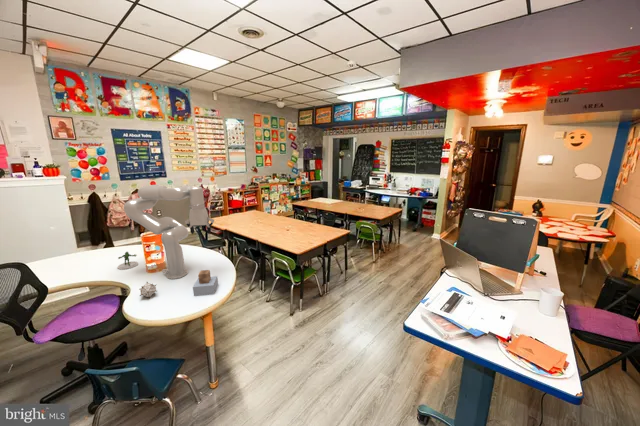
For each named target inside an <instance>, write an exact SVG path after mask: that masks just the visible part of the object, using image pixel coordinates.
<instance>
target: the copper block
mask: <svg viewBox="0 0 640 426" xmlns="http://www.w3.org/2000/svg"><path fill="white" fill-rule="evenodd" d="M197 275H198V278H199V284H205V283H209V281H210V280H211V277H212V276H211V270H210V269H205V270H203V269H201V270H200V271H199V272H198V274H197Z"/></svg>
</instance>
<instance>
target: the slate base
mask: <svg viewBox="0 0 640 426" xmlns="http://www.w3.org/2000/svg"><path fill="white" fill-rule="evenodd" d="M218 278H219V277H218V275H217V276H216V275H215V276H211V280H210V281H209V283H205V284H199V277H198V278H197V279H196V281H195V282H194V284H193V286H192V294H193V296H194V297H197V296H198V297H200V296H208V295H215V293H216V291H217V288H218V286H219V280H218Z"/></svg>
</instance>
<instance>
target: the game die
mask: <svg viewBox="0 0 640 426" xmlns="http://www.w3.org/2000/svg"><path fill="white" fill-rule="evenodd" d="M156 286H157V284H153V283H149V282H148V281H146V283H145V284H144V285H142V286H141V288H139V289H138V290H140V295H139V297H141V296H142V297H146V298H148V299H150V298H151V297H152V296H153V294H154V295H155V293H156V292H157V289H156V288H157V287H156Z"/></svg>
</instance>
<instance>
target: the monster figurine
mask: <svg viewBox="0 0 640 426" xmlns="http://www.w3.org/2000/svg"><path fill="white" fill-rule="evenodd" d="M130 257H137V254H130V253H129V251H126V252H125V253H124V254H123V255H122V256H119V257H117V259H118V260H120V259H123V258H124V262H123V263H121V264H119V265H118V266H117V267H116V268H117V270H119V271H125V270H129V269H133V268H136V267H137V266H138V265H139V262H138V261H134V260H133V261H130Z"/></svg>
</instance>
